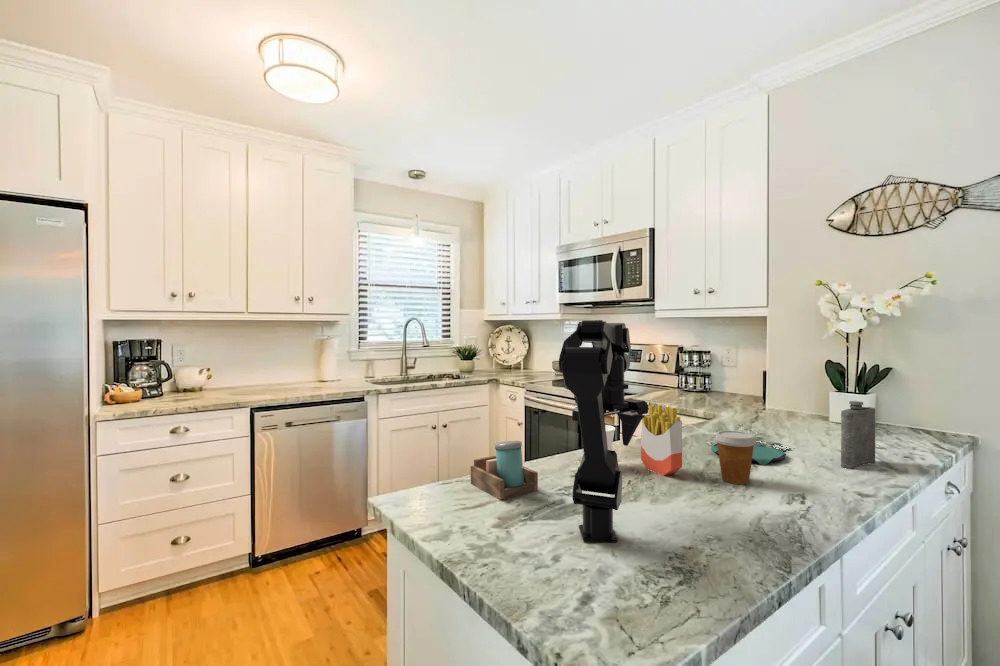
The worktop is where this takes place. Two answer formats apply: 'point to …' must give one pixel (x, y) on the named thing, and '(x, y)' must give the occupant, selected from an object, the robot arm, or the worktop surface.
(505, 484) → the teal lidded canister
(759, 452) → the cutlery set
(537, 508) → the worktop surface
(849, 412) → the flask
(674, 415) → the french fries container
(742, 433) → the disposable coffee cup
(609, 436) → the cup
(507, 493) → the small wooden crate
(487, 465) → the bar
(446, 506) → the worktop surface
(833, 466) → the worktop surface
